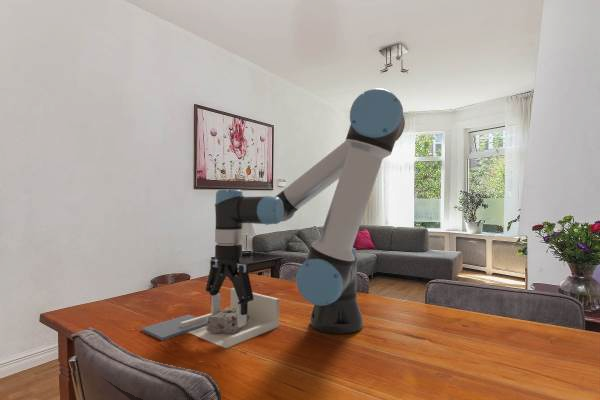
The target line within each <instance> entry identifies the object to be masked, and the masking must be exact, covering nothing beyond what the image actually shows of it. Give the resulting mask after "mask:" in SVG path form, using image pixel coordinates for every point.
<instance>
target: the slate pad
mask: <svg viewBox="0 0 600 400" xmlns="http://www.w3.org/2000/svg"><path fill="white" fill-rule="evenodd" d="M197 317H198V316H195V315H191V314H185V315H183V316H182V315H181V316H178V317H175V318H171V319H168V320H165V321H162V322H161V321H160V322H157V323H154V324H151V325H147V326H144V327H141V332H142V333H144V334H145V333H146V335H150V336H152V337H153V338H156V339H158V340H159V341H165V340H170V339H171V338H174V337H178V336H181V335H184V334H186V333H188V332H190V331H193V330H196V329H199V328H202V327H205V326H207V322H208V321H206V320H205V321H202V322H199V323H196V324H193V325H189V326H186V327H181V322H183V321H187V320H190V319H193V318H197Z"/></svg>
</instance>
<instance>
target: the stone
mask: <svg viewBox="0 0 600 400" xmlns="http://www.w3.org/2000/svg"><path fill="white" fill-rule="evenodd" d="M220 310H221V311H220V312H219V313H218V314H216V315H214V316H210V317H209V318H208V322H207V331H210V332H213V333H223V334H225V333H229V334H232V333H236V332H237V331H238V330H240V329H241V328H242V327H243V326H242V327H237V310H230V309H227V307H225V308H223V309H220ZM248 319H249V316H248V314H246V322H247V321H248Z"/></svg>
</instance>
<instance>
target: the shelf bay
mask: <svg viewBox="0 0 600 400" xmlns="http://www.w3.org/2000/svg"><path fill="white" fill-rule="evenodd" d="M252 293H253V298H254V299H253V300H252V301H249V302H248V313H247V314H248V316H249V319H248V321H247V322H246V325H245V326H243V327H242V328H241V329H240V330H238V331H237V332H236V333H232V334H229V333H225V334H223V333H213V332H210V331H207V326H205V327H202V328H199V329H196V330H193V331H190V332H187V333H188V334H190V335H193V336H195V337H198V338H200V339H202V340H205V341H207V342H210V343H212V344H213V345H217V346H219V347H222V348H224V349H229V348H231V347H234V346H236V345H238V344H241V343H242V342H245V341H248V340H250V339H252V338H254V337H255V338H256V337H258V336H260V335H262V334H265V333H268V332H269V331H272V330H275V329H277V328H279V327H280V298H277V297H273V296H268V295H264V294H261V293H256V292H253V291H252ZM248 297H249V296H248ZM242 298H243V297H242ZM238 302H239V299H238V297H237V294H236V291H235V288H234V287H231V288H230V307H226V309H230V310H237V303H238ZM221 310H222V309H220V311H221ZM210 316H211V312H210V313H206V314H204V315H201V316H196V317H197V318H193V319H190V320H187V321H183V322H181V327H186V326H189V325H193V324H196V323H199V322H202V321H205V320H206V321H208V318H209V317H210Z"/></svg>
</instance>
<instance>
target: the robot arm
mask: <svg viewBox="0 0 600 400" xmlns="http://www.w3.org/2000/svg"><path fill="white" fill-rule="evenodd" d="M403 110H404V108H403V105H402V102H401V101H400V99H399V98H398V97H397V95H395V94H394V93H393V92H391V91H390V90H387V89H385V88H370V89H368V90H365V91H364V92H362V93H361V94H359V95H358V96H357V97H356V98H355V99H354V100H353V102H352V105H351V107H350V112H349V121H350V125H349V128H348V130H347V135H346V137H345V140H344V142H342V143H341V144H340V145H339V146H337V147H336V148H335V149H333V150H332V151H331V152H330V153H328V154H327V155H325V157H323V158H322V159H321V160H319V161H318V162H317V163H315V164H314V165H313V166H312V167H310V168H309V169H308V170H306V172H304V173H303V174H302V175H300V176H299V177H298V178H297V179H295V180H294V181H293V182H292V183H290V184H289V185H288V186H286V187H285V188H284V189H283V190H281V191H280V192H279V193H278V194H276V195H275V196H271V195H270V196H269V195H265V196H244V195H243V191H242V190H241V189H218V190H217V191H216V192H215V203H214V206H215V207H214V209H215V230H214V242H215V244H216V245H215V246H214V250H215V251H214V257H215V258H216V259H212V260H210V262H209V263H210V268H209V272H208V277H207V282H206V286H205V292H207V293H209V295H210V305H211V306H210V310H211V311H210V313H211V316H214V315H216V314H218V313H219V312H220V310H221V301H222V300H221V295H222V294H221V291H220V290H221V288H222V286H223V283H224V281H225V279H226V277H227V278H228V279H229V281H231V283H232V286H233V288H235V291H236V294H237V297H238V299H239V302H238V303H237V327H242V326H245V325H246V314H247V313H248V302H249V301H252V300H253V299H254V298H253V293H254V292H253V289H252V285H251V284H252V283H251V279H250V277H249V265H248V264H247V263H246V264H245V263H244V264H243V263H242V264H241V261H240V259H241V258H242V256H243V245H242V244H241V243H242V242H243V224H253V225H255V224H256V225H258V224H259V225H267V226H268V225H277V224H280V223H281V222H286V221H288V220H290V219H291V218H293V217H294V215H295V213H296V212H297V211H298V210H300V209H301V208H302V207H303V206H305V205H306V204H308V203H309V202H310V201H312V199H314V198H315V197H317V196H318V195H319V194H320V193H322V192H323V191H325V190H326V189H327V188H329V187H330V186H331V185H332V184H334V183H335V182H337V181H338V182H337V184H336V187H335V190H334V192H333V196H332V198H331V199H332V200H331V202H330V205H329V209H328V212H327V215H326V218H325V221H324V223H323V227H322V229H321V232H320V236H319V238H318V239H317V240H315V241H312V243H311V244H310V247H309V251H308V253H307V256H306V259H305V261H304V262H303V263H302V264H301V265H300V267H299V268H298V270H297V273H296V276H295V282H296V287H297V289H298V292H299V294H300V295H301V296H302V298H303V299H304V300H305V301H307V302H309V303H310V304H312V305H314V306H313V309H312V311H311V314H310V325H311V327H312V328H313V329H314V330H317V331H319V332H323V333H327V334H336V335H341V334H342V335H343V334H345V335H346V334H352V333H355V332H358V331H360V330H361V329H362V328H363V327H364V326H363V324H364V323H363V316H362V313H361V308H360V306H359V301H358V299H357V297H358V296H357V291H358V290H357V285H358V284H357V265H358V264H357V262H358V255H357V250H356V248H354V247H353V246H354V244H355V241H356V238H357V235H358V233H359V229H360V227H361V224H362V221H363V218H364V215H365V212H366V209H367V206H368V203H369V200H370V197H371V195H372V191H373V188H374V185H375V184H376V179H377V177H378V174H379V170H380V168H381V164H382V163H383V160H384V159H385V158H387V157H389V156H391V155H392V152H393V149H394V147H395V143H396V142H397V141H398V140H399V138H401V136H402V134H403V132H404V130H405V127H406V126H405V123H406V122H405V116H404V111H403ZM252 292H253V293H252ZM248 296H249V297H248ZM242 297H243V298H242Z"/></svg>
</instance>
